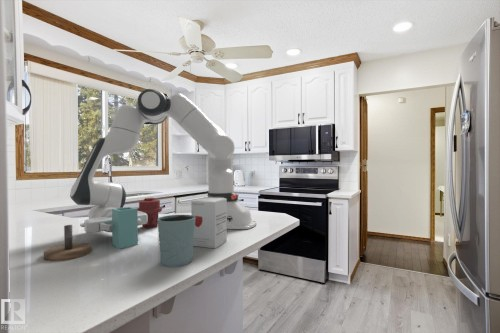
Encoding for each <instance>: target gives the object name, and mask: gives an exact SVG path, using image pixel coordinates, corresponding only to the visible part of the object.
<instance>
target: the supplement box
mask: <svg viewBox="0 0 500 333" xmlns="http://www.w3.org/2000/svg"><path fill="white" fill-rule="evenodd" d="M207 197H208V196H205V197H200V198H197V199H192V200H191V206H190V208H191V215H192V216H195V228H194V246H193V247H201V248H206V249H207V248H208V249H217V248H218V247H219V246H221V245H223V244H224V243H226V242H227V237H228V236H227V235H228V234H227V230H228V229H227V199H226V198H207Z"/></svg>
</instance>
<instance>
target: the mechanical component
mask: <svg viewBox="0 0 500 333" xmlns="http://www.w3.org/2000/svg"><path fill="white" fill-rule="evenodd" d="M137 211H141V212H144V213H146V214H147V216H148V222H147V223H146V224H142V225H141V226H142V227H141V228H142V229H143V230H144V229H149V228H151V229H152V228H153V227H155V228H158V222H157V219H158V218H159V213H161V212H162V211H163V207H162V206H161V200H160V199H156V198H155V197H145V198H144V199H143V200H142V199H141V200H139V201H138V208H137Z"/></svg>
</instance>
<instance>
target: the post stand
mask: <svg viewBox="0 0 500 333" xmlns="http://www.w3.org/2000/svg"><path fill="white" fill-rule="evenodd" d="M63 229H64V230H63V231H64V232H63V233H64V241H63V242H64V244H62V245H57V246H52V247H50V248H48V249H45V251H43V259H44V260H45V261H48V260H50V261H49V262H56V261H57V262H59V261H68V260H73V259H78V258H81V257H83V256H86V255H89V254H90V253H92V251H93V249H92V248H93V246H92V244H91V243H87V242H74V243H73V224H67V225H66V224H65V225H64V226H63Z"/></svg>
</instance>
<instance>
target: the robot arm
mask: <svg viewBox="0 0 500 333" xmlns="http://www.w3.org/2000/svg"><path fill="white" fill-rule="evenodd" d="M136 102H137V104H136V105H135V104H134V105H133V104H123V105H121V106H119V107H118V109H117V111H116V113H115V114H114V117H113V120H112V122H111V126H110V129H109V132H108V133H107V134H106V135H105V137H102V138H101V137H100V138H98V139H97V140H96V142H95V143H94V146H93V147H92V149H91V151H90V152H89V154H88V156H87V159H86V161H85V163H84V164H83V166H82V169H81V171H80V173H79V175H78V176H77V178H76V180H75V181H74V183H73V185H72V186H71V188H70V193H69V194H70V195H69V197H70V199H71V200H72V201H73V202H74V203H75V205H78V206H93V207H91V208H90V209H89V211H88V216H87V217H88V218H87V219H84V222H83V223H80V224H79V227H80V228H84V232H85V233H86V234H93V233H100V232H106V233H112V230H113V228H112V227H113V225H112V209H115V208H124V207H125V204H126V199H127V192H126V190H125V187H124V186H123V185H122V184H121V183H118V182H113V181H112V182H111V181H105V180H100V179H99V180H98V179H94V176H95V175H96V172H97V170H98V168H99V166H100V163H101V161H102V160H103V159H104V158H105V157H107V156H110V155H117V154H124V153H129V152H131V151H133V150H134V149H135V148H136V147H137V146H138V142H139V140H140V135H141V133H142V132H141V131H142V129H143V126H144V125H160V124H162V123H164V121H165V120H166V119H167V117H169V118H171V119H172V120H174V121H175V123H177V124H178V125H179V126H180V127H181V128H182V129H183V130H184V131H185V133H187V134H188V135H189V136H190V137H191V138H192V139H193V140H194V141H195V142H196V143H198V145H199V146H200V147H201V148H202V149H204V150H205V152H207V166H208V167H207V168H208V169H207V170H208V171H207V172H208V174H207V176H208V178H207V179H208V180H207V181H208V182H207V183H208V192H207V196H206V197H207V198H226V199H227V230H248V229H253V228H254V227H255V226H257V220H255V219H253V218H252V214H251V211H250V209H249V208H248V207H247V206H246V205H244V204H243V203H241V201H239V193H236V192H235V191H234V189H235V188H234V183H235V182H234V166H233V164H234V163H233V154H234V152H235V143H234V140H233V139H232V138H231V137H230V136H229V135H228V134H227V133H225V132H224V131H223V130H222V128H220V127H219V125H217V124H216V123H214V122H213V121H212V120H211V119H210V118H209V117H208V116H207V115H206V114H205V113H204V111H202V110H201V109H200V108H199V107H198V105H196V104H195V103H194V102H193V101H192V100H191V99H189V98H188V97H187V96H185V95H184V94H182V93H178V92H176V93H174V94H172V95H171V96H169V94H167V93H164V92H161V91H159V90H156V89H154V88H153V89H151V88H148V89H144V90H142V91H141V92H140V93H139V95H138V97H137V100H136ZM137 217H138V227H139V226H142V224H146V223H147V222H148V216H147V214H146V213H144V212H141V211H137Z"/></svg>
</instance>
